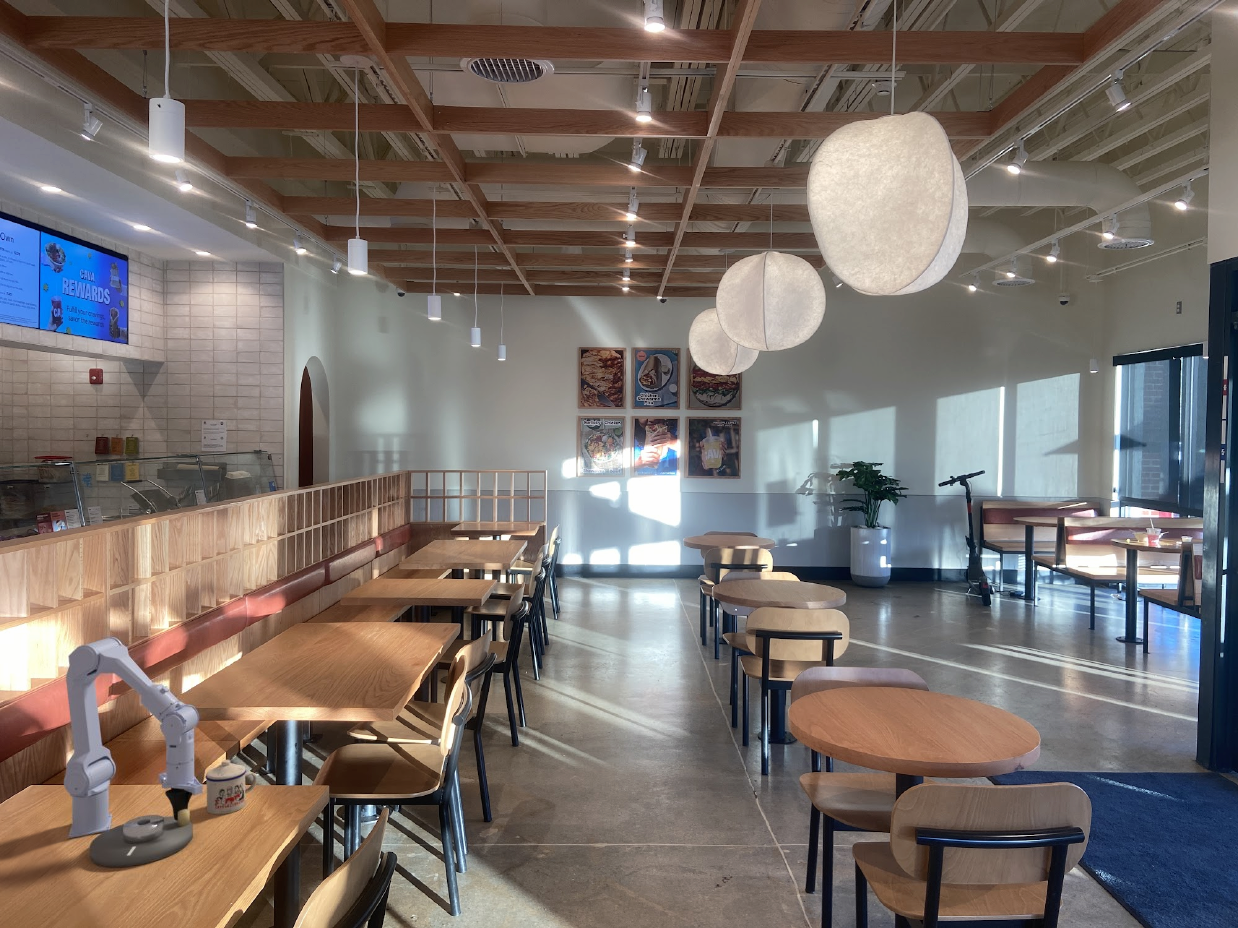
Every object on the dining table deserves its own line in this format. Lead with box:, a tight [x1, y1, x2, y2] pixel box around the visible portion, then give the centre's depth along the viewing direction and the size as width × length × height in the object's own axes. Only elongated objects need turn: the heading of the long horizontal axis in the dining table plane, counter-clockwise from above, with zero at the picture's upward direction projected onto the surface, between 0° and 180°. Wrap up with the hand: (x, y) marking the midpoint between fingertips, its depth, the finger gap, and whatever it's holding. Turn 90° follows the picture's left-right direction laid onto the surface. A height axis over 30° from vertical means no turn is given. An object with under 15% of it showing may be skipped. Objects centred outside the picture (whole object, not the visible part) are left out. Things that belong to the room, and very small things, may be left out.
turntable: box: [89, 809, 194, 868], centre depth 186 cm, size 20×20×5 cm
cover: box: [123, 814, 165, 844], centre depth 186 cm, size 8×8×3 cm
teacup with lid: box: [205, 759, 258, 815], centre depth 207 cm, size 12×9×12 cm
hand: (180, 818), depth 193 cm, fingers closed, pressing on turntable
